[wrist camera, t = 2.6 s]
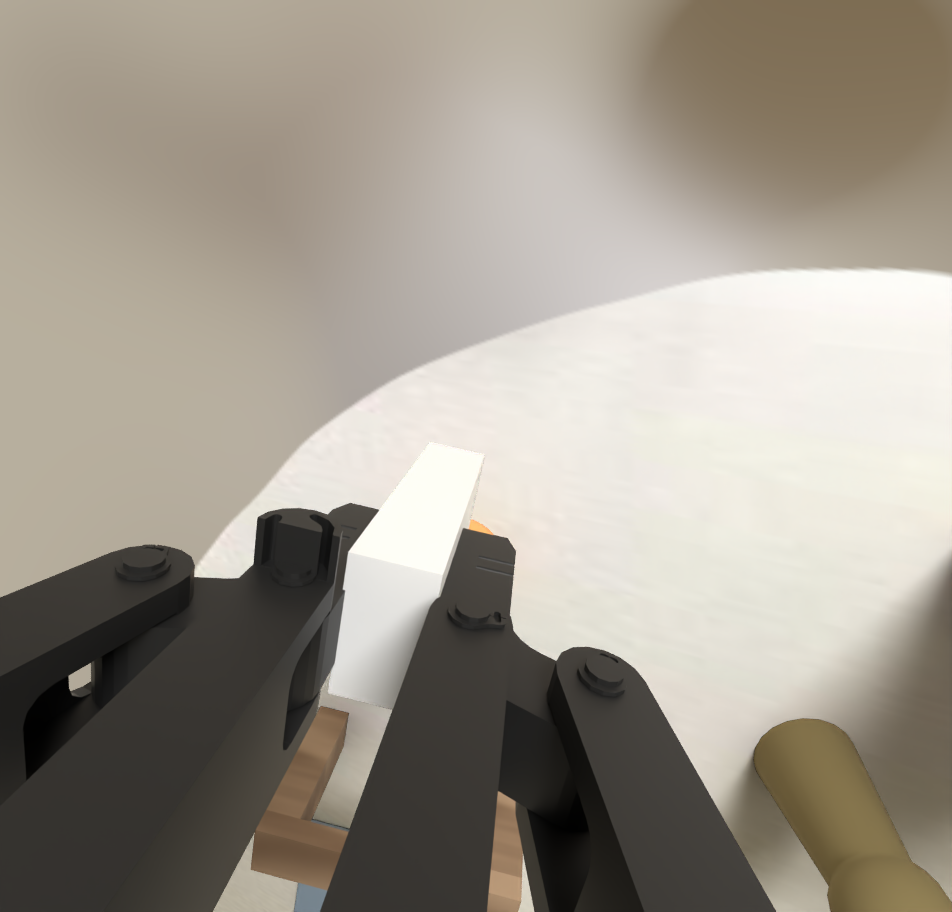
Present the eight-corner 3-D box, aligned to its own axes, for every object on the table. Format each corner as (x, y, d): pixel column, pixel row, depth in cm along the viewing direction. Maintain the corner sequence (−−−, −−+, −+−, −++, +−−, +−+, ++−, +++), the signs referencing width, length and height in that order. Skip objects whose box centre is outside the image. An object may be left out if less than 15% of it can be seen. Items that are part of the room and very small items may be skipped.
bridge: (516, 791, 38) (508, 939, 29) (316, 739, 39) (250, 869, 30) (525, 758, 37) (521, 901, 29) (321, 706, 38) (254, 829, 29)
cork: (741, 784, 36) (824, 986, 25) (769, 709, 34) (870, 894, 24) (836, 803, 36) (960, 1017, 25) (869, 729, 34) (1017, 926, 23)
